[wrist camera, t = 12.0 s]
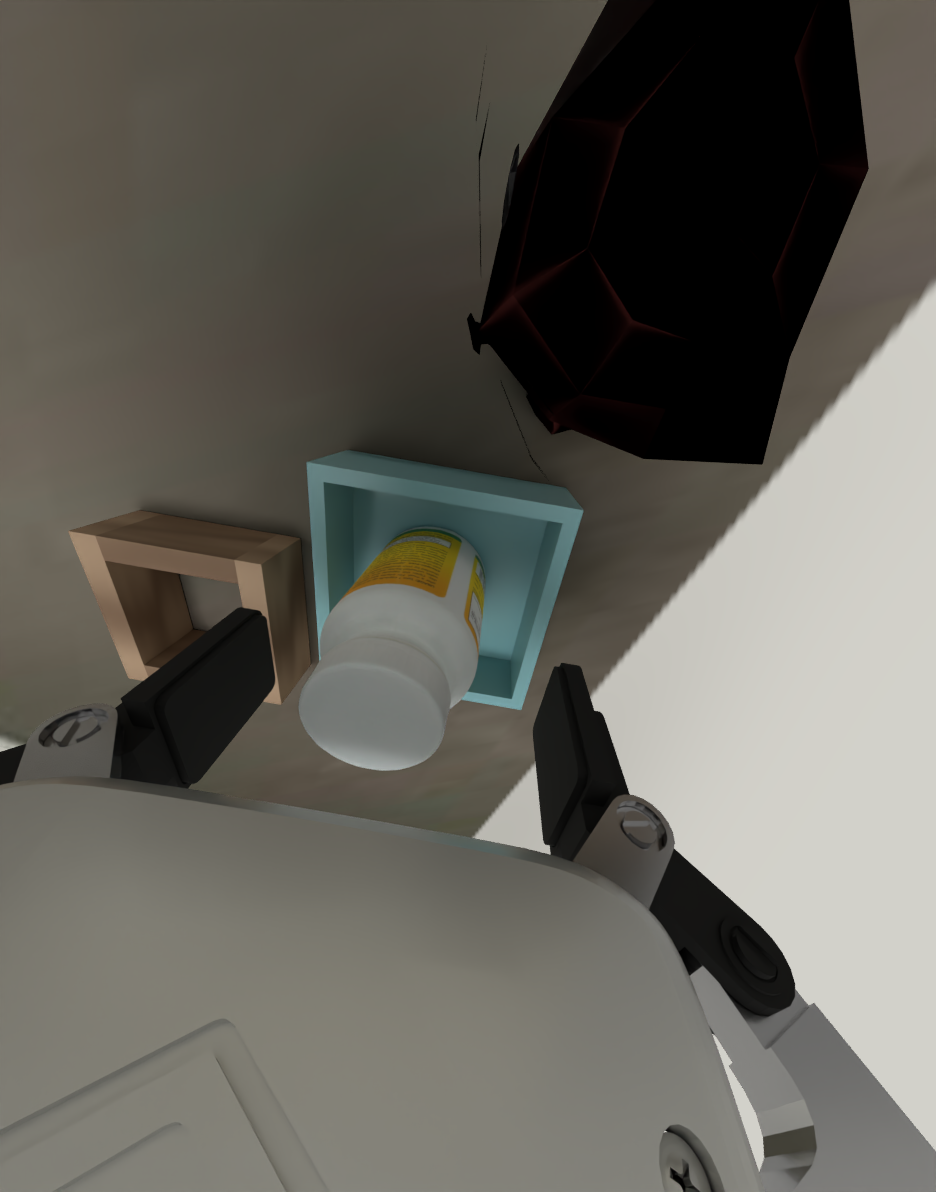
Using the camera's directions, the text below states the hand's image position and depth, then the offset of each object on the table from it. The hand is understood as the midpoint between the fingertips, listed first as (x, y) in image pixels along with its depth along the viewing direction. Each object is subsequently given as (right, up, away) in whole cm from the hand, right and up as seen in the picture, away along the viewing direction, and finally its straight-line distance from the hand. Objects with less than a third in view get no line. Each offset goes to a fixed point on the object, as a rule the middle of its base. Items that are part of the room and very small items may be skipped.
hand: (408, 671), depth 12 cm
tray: (+1, +4, +7) cm, 8 cm away
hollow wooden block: (-12, +2, +9) cm, 15 cm away
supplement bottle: (0, +4, +7) cm, 8 cm away
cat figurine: (+6, +12, +2) cm, 14 cm away
